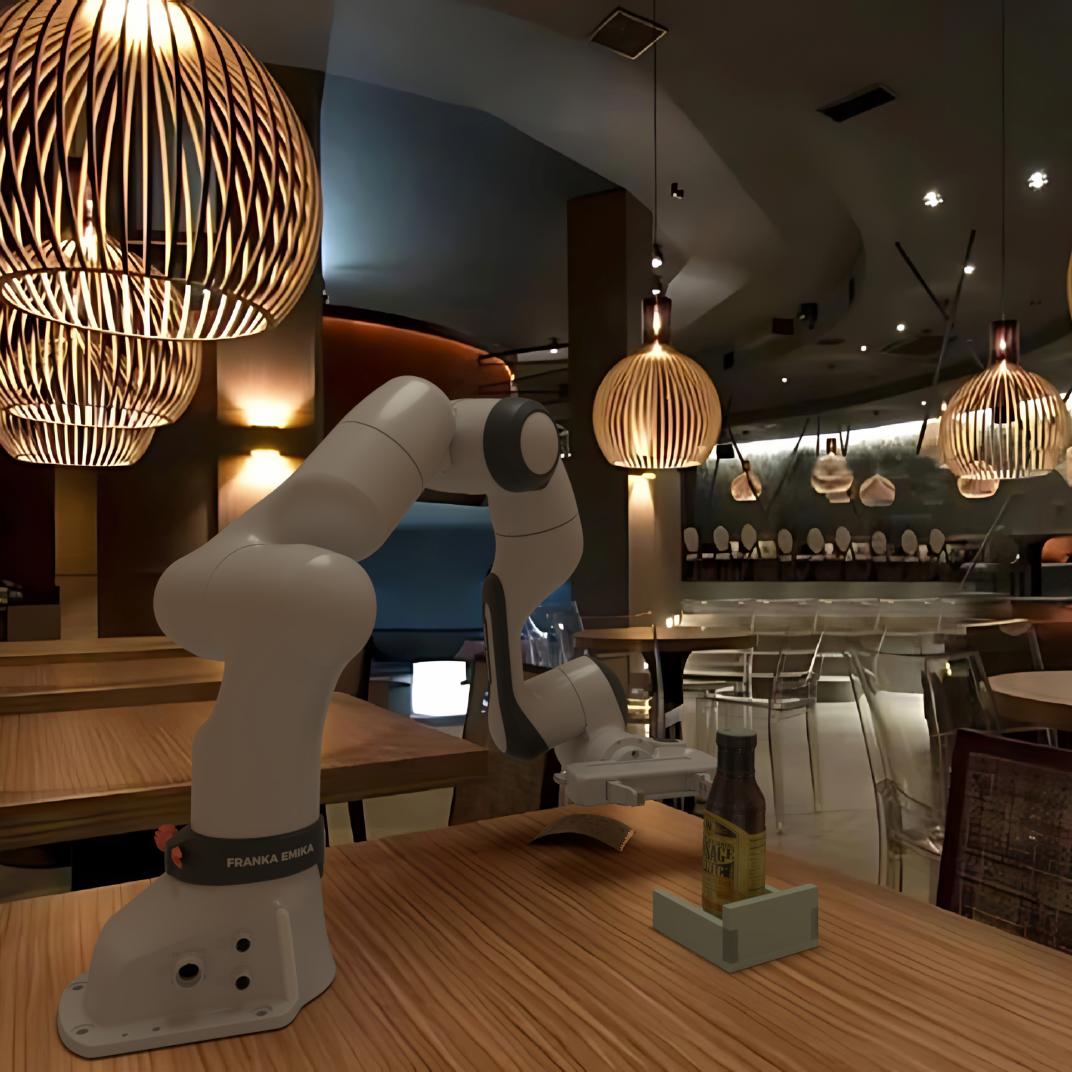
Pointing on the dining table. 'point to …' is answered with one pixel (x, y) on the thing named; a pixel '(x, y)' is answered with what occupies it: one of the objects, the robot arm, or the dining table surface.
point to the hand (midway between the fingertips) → (676, 795)
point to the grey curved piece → (590, 828)
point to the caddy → (743, 926)
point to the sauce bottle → (733, 825)
